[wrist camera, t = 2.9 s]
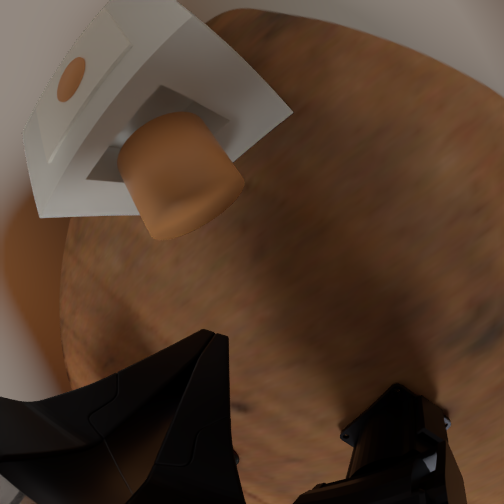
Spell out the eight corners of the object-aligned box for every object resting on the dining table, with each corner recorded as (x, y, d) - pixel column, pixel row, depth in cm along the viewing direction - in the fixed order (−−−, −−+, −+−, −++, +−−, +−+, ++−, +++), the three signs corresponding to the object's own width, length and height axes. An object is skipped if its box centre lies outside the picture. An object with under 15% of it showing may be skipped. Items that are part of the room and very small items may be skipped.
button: (260, 181, 15) (206, 166, 10) (193, 236, 17) (129, 243, 12) (220, 126, 15) (162, 99, 11) (163, 183, 17) (98, 176, 13)
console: (293, 112, 19) (187, 11, 7) (175, 214, 23) (34, 218, 12) (240, 56, 20) (133, -31, 8) (141, 152, 24) (18, 132, 13)
